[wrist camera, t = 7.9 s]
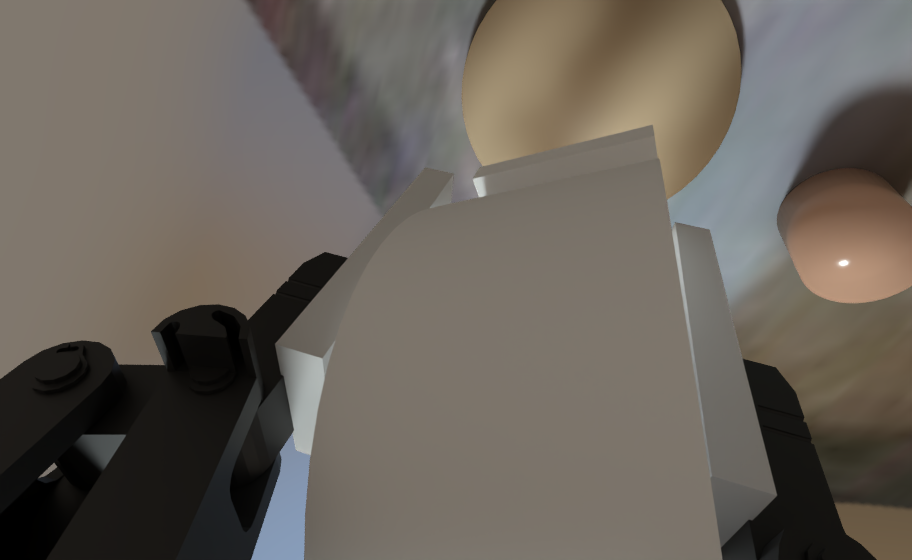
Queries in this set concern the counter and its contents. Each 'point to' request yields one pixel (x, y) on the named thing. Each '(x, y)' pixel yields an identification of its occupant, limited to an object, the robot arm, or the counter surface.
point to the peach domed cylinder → (848, 235)
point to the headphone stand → (519, 377)
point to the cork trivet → (603, 78)
